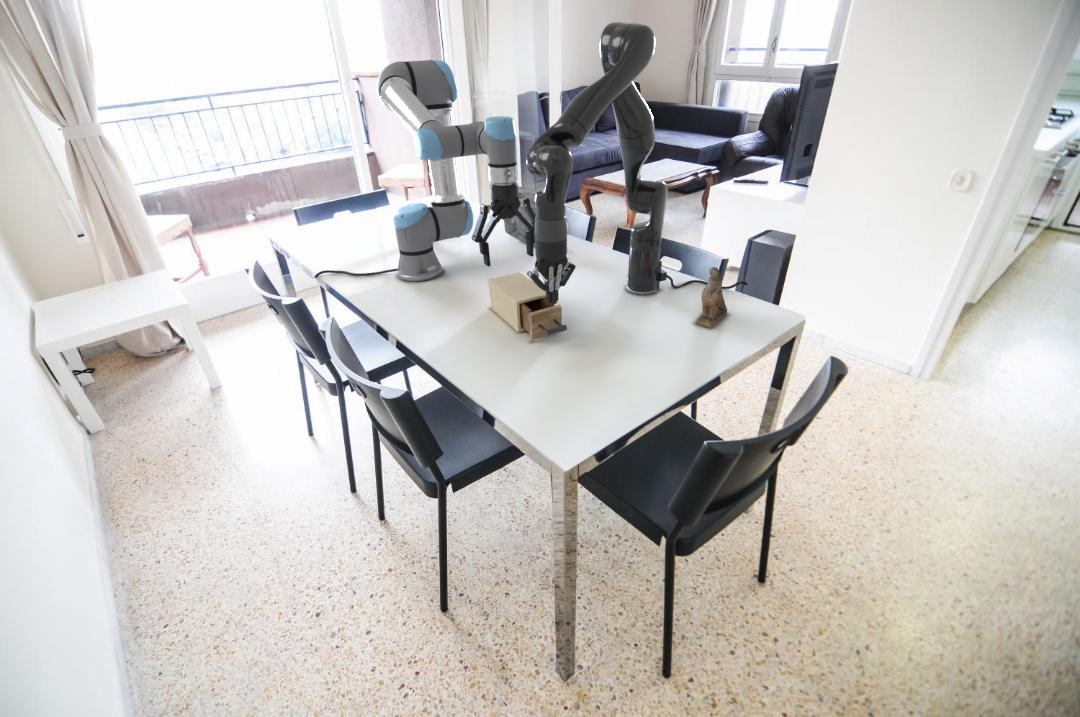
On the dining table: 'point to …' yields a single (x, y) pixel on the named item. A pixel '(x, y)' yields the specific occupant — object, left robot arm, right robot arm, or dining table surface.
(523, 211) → the concrete block
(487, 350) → the dining table surface
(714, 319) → the brown carved statuette
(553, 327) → the drawer
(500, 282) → the cabinet
